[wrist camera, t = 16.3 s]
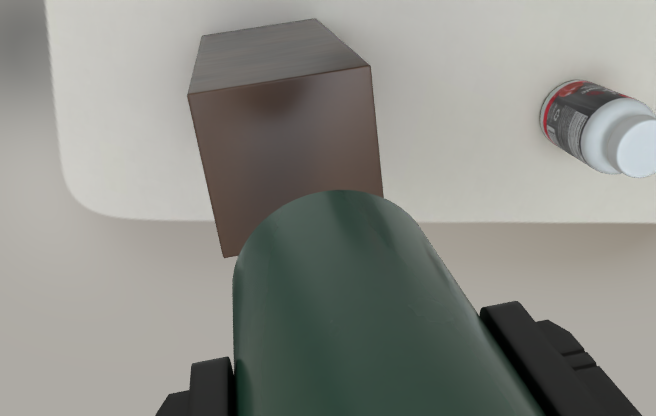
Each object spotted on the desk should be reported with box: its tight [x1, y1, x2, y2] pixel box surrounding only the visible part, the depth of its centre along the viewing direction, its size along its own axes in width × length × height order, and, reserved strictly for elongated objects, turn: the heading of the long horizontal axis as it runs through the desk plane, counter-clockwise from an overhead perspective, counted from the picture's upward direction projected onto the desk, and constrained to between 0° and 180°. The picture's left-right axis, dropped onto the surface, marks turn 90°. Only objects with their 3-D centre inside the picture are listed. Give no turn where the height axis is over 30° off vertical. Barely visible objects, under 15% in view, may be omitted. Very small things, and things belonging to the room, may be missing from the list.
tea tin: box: [233, 190, 546, 416], centre depth 12 cm, size 5×5×8 cm
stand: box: [187, 19, 384, 258], centre depth 37 cm, size 8×8×18 cm
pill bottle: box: [540, 80, 656, 178], centre depth 45 cm, size 5×5×10 cm
